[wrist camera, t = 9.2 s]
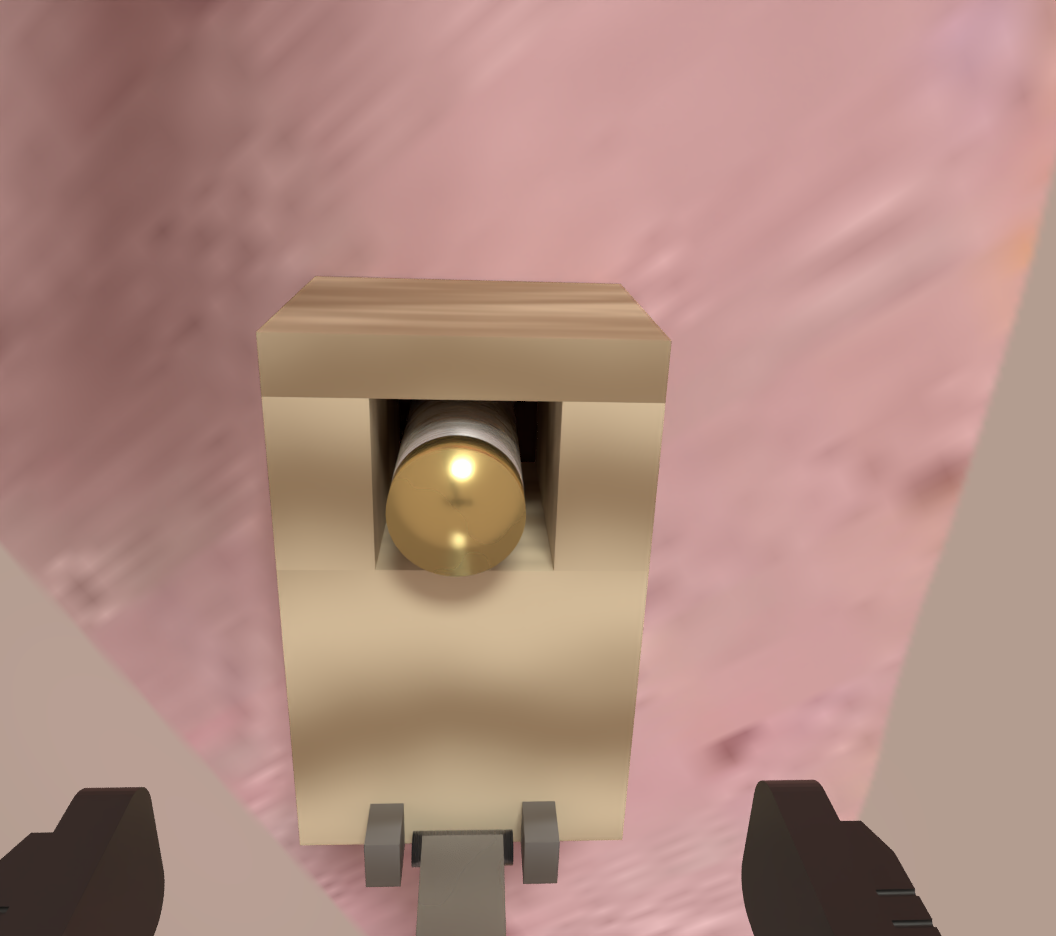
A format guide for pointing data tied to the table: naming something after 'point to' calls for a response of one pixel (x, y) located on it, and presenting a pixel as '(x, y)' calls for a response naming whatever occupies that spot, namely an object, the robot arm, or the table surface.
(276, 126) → the table surface
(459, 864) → the grey handle
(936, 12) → the table surface
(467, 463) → the pin
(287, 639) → the block
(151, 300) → the table surface
